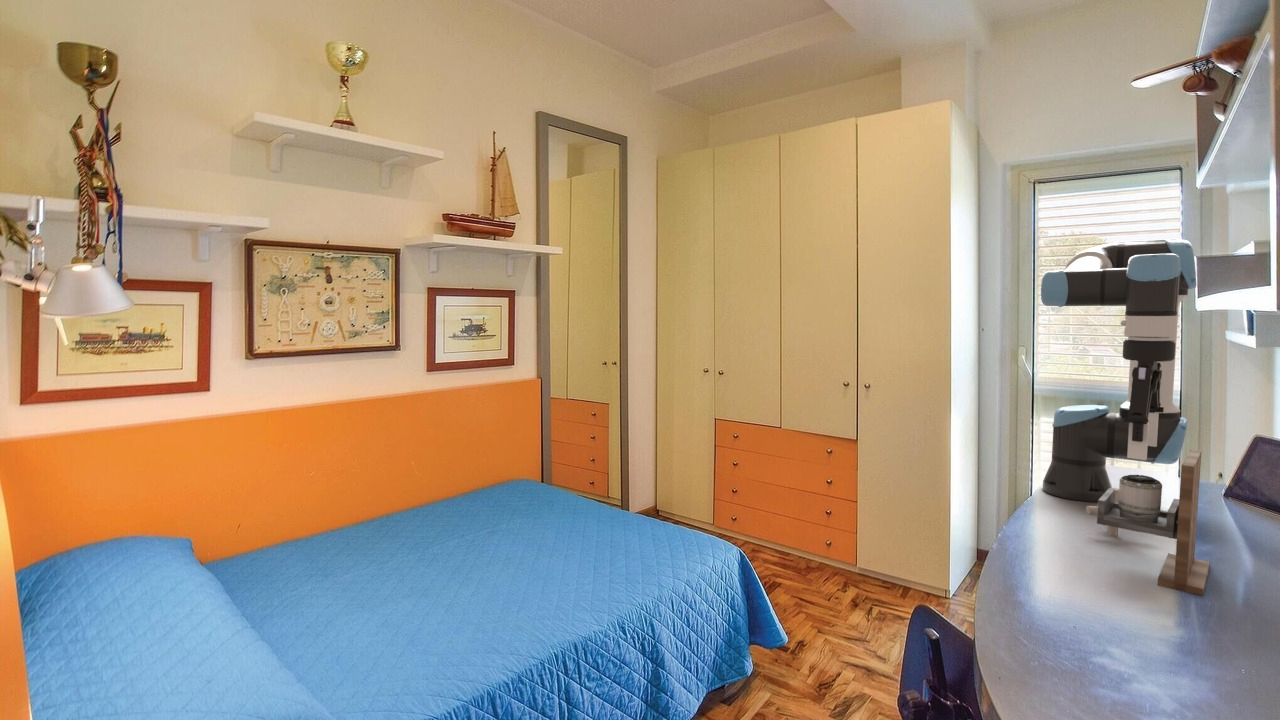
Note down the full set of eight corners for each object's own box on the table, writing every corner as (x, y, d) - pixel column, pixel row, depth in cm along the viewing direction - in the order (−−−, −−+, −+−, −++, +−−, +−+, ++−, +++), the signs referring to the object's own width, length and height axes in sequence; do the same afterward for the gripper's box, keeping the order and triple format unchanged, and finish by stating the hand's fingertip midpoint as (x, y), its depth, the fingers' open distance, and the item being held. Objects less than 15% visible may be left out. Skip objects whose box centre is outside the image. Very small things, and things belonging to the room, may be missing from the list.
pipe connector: (1152, 544, 130) (1155, 497, 129) (1098, 541, 132) (1101, 494, 131) (1125, 527, 139) (1128, 483, 139) (1075, 525, 141) (1078, 481, 141)
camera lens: (1109, 512, 122) (1111, 473, 121) (1141, 512, 122) (1143, 472, 121) (1135, 523, 116) (1137, 482, 115) (1169, 523, 116) (1171, 481, 115)
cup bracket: (1107, 546, 129) (1113, 440, 127) (1209, 567, 118) (1217, 452, 116) (1092, 569, 118) (1098, 453, 116) (1202, 595, 107) (1211, 468, 105)
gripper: (1134, 334, 127) (1128, 437, 129) (1111, 342, 110) (1105, 461, 112) (1182, 335, 122) (1175, 443, 124) (1167, 343, 104) (1159, 468, 106)
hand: (1142, 452), depth 118 cm, fingers open, 13 cm apart
